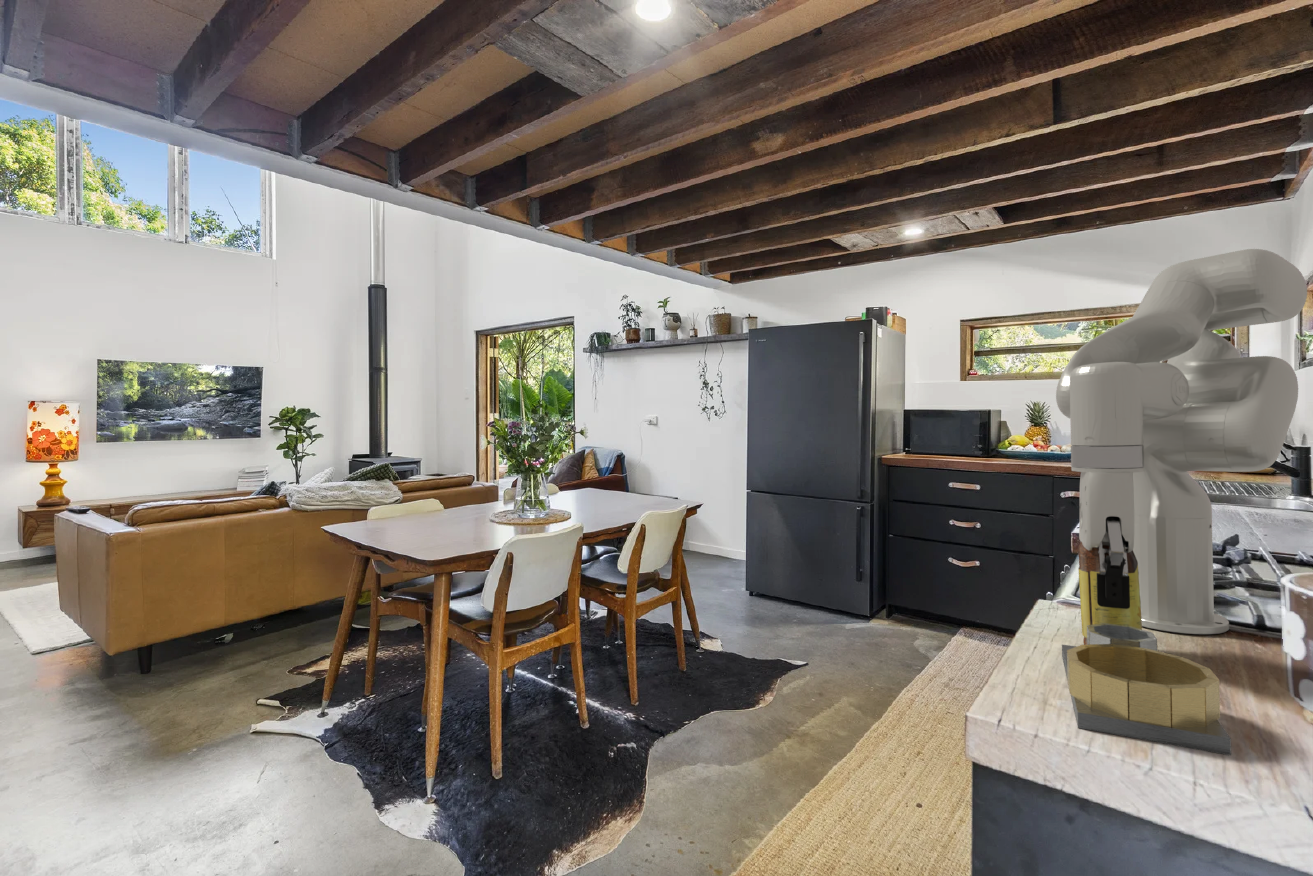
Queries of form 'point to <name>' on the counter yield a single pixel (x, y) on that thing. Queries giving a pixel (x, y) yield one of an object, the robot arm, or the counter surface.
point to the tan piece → (1143, 690)
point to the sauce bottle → (1088, 593)
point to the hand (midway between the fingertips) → (1109, 598)
